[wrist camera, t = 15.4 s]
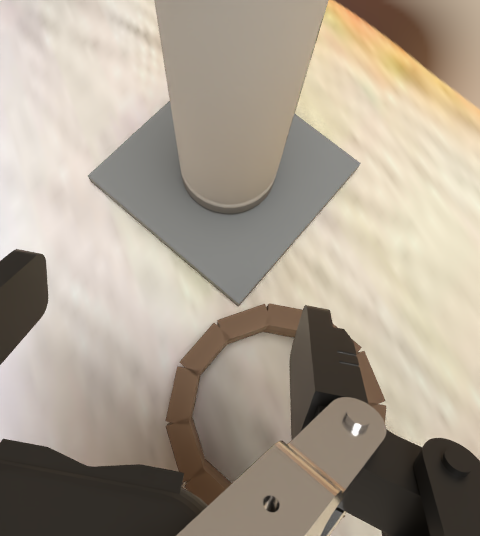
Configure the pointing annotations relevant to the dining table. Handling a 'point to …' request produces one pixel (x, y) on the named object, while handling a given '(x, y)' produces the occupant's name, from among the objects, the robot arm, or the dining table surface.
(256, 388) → the dining table surface
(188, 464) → the ring
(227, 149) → the travel mug
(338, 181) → the slate mat
